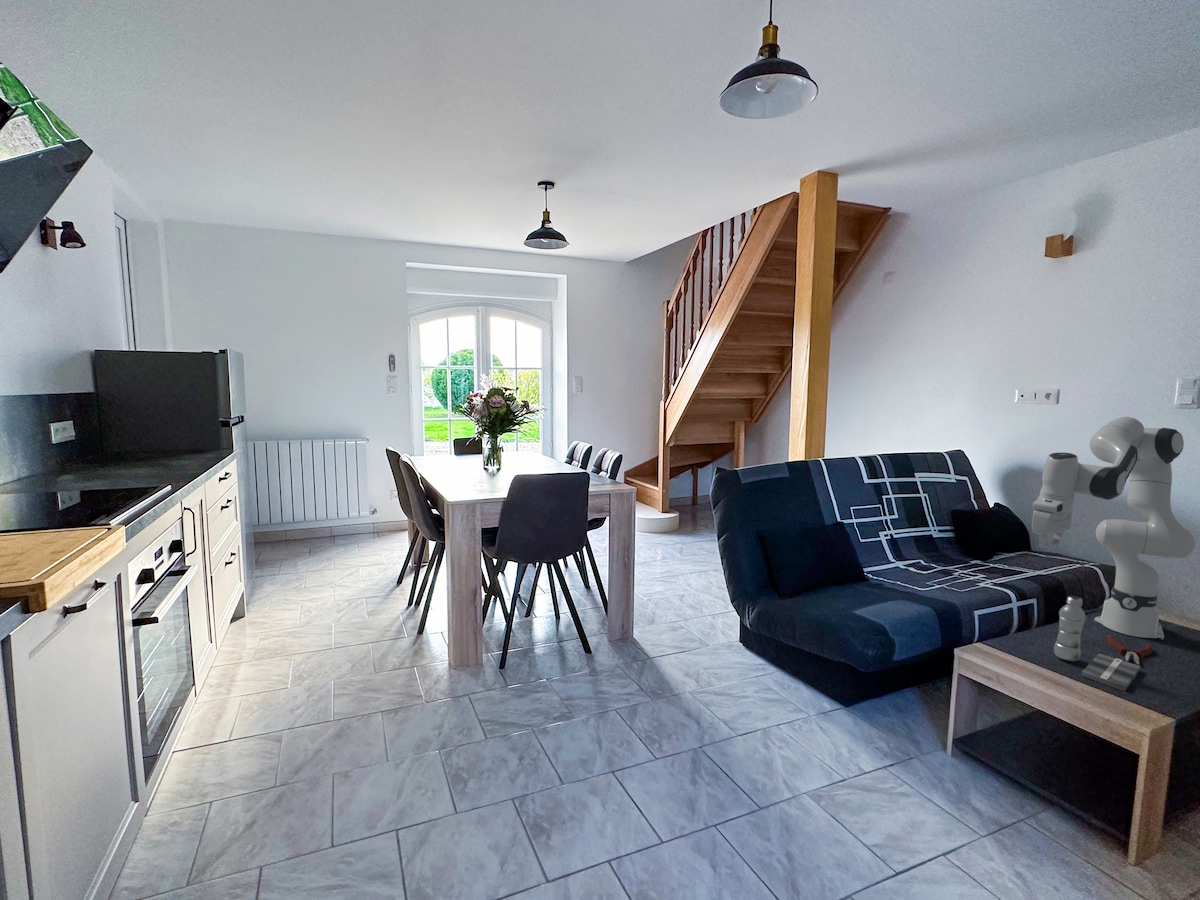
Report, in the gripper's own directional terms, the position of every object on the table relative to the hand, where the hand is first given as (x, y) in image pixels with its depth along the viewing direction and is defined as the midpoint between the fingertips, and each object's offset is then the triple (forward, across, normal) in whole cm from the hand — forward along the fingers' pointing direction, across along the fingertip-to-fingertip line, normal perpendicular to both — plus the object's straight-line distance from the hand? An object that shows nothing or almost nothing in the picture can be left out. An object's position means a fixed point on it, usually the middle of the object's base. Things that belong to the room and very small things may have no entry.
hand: (1049, 545), depth 193 cm
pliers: (+34, -23, +17) cm, 44 cm away
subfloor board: (+34, +1, +20) cm, 40 cm away
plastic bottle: (+34, +2, +9) cm, 35 cm away
